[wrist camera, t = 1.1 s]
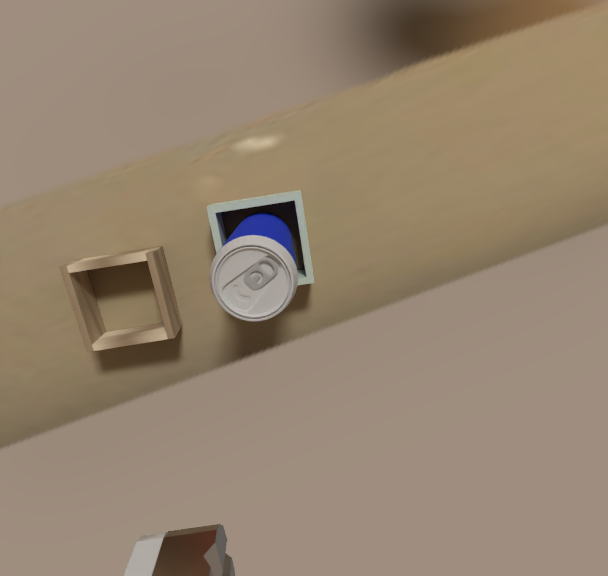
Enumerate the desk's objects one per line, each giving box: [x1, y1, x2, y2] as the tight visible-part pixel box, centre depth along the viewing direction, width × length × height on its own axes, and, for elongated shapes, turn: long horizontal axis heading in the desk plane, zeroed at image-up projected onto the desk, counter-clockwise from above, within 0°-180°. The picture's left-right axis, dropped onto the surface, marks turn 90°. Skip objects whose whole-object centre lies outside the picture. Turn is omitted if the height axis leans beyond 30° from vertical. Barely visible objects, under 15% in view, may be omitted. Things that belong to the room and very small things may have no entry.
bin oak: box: [59, 246, 182, 352], centre depth 37 cm, size 8×8×3 cm
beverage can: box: [209, 212, 298, 321], centre depth 30 cm, size 5×5×15 cm
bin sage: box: [207, 190, 314, 285], centre depth 36 cm, size 8×8×3 cm
